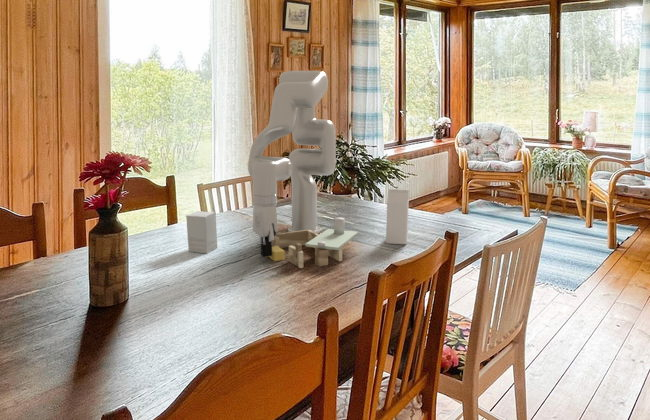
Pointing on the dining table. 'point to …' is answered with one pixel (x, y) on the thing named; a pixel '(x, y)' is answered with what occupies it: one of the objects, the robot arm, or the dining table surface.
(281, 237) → the beige notched ring
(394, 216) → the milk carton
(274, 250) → the yellow rectangular block
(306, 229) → the robot arm
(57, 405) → the dining table surface
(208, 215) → the supplement box
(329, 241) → the cover
